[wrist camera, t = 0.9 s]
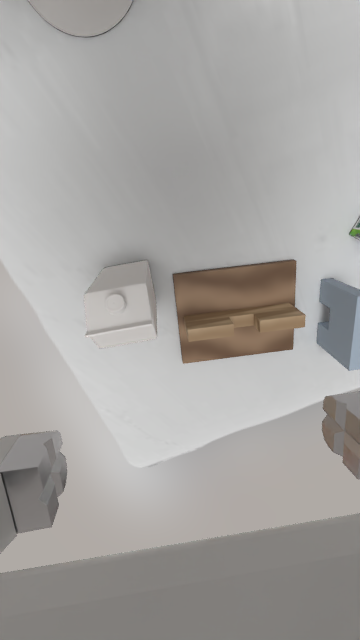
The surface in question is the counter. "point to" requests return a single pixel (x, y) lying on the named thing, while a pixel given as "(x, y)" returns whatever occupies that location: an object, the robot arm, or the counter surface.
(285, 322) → the rail stand
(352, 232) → the syrup box
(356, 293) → the slotted plate
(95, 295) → the milk carton
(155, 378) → the counter surface
